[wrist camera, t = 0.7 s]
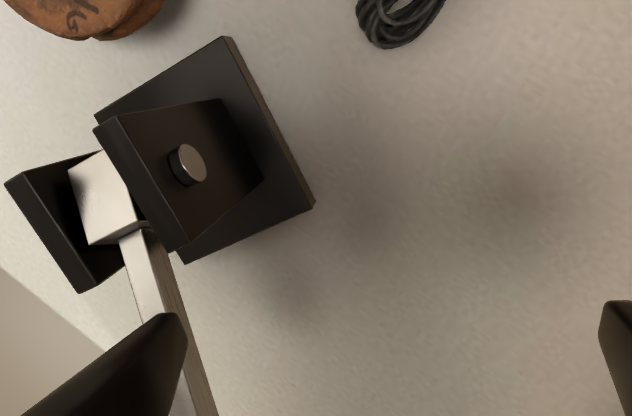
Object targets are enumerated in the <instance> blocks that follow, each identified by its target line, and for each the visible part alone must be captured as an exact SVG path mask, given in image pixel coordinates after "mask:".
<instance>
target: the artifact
mask: <svg viewBox="0 0 632 416" xmlns="http://www.w3.org/2000/svg"><path fill="white" fill-rule="evenodd" d="M4 1H5V2H6V3H7V4H8V5H9V6H10V7H11V8H12V9H14V10H15V11H16V12H17V13H18V14H19V15H21V16H22V17H23V18H24V19H26V20H27V21H29V22H31V23H32V24H34V25H36V26H38V27H39V28H41V29H43V30H45V31H47V32H49V33H52V34H54V35H56V36H59V37H62V38H66V39H71V40H75V41H82V40H86V39H89V38H90V37H93V38H95V39H97V40H99V41H108V40H116V39H120V38H123V37H126V36H128V35H130V34H132V33H134V32H135V31H137V30H138V29H140V28H141V27H143V26H144V25H146V24H147V23H148V22H150V21H151V20H152V19H153V18H154V17H155V15H156V14H157V13H158V12H159V11H160V9H161V7H162V5H163V3H164V0H4Z"/></svg>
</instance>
